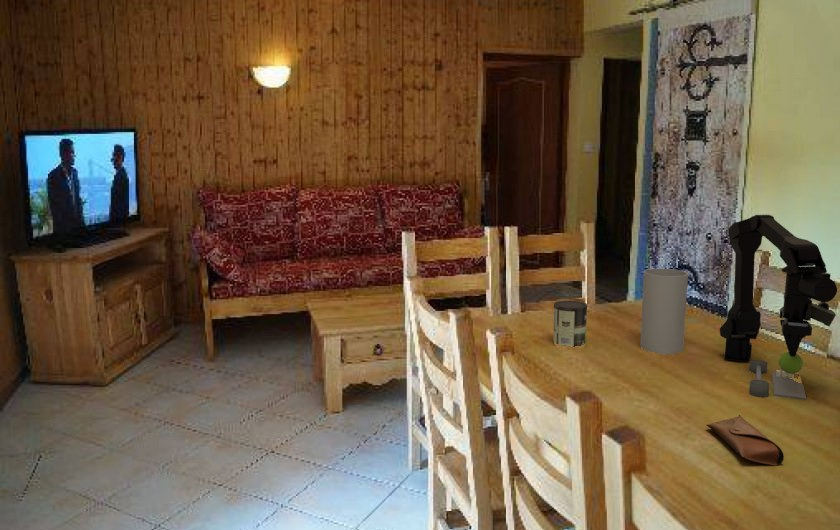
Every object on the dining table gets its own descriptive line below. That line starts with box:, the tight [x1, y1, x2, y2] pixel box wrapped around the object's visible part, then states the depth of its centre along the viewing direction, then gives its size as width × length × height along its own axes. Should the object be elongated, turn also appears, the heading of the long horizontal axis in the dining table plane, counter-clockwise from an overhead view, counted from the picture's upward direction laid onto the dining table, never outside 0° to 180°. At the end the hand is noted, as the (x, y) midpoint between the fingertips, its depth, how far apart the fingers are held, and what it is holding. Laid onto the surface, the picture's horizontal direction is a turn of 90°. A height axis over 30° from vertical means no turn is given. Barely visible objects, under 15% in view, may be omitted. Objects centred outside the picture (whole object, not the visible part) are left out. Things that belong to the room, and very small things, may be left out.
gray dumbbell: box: [748, 359, 770, 398], centre depth 184 cm, size 4×22×4 cm, turn 155°
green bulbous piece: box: [778, 351, 804, 375], centre depth 177 cm, size 5×6×12 cm
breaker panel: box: [771, 369, 807, 401], centre depth 181 cm, size 7×18×3 cm, turn 155°
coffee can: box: [552, 300, 588, 347], centre depth 219 cm, size 10×10×14 cm
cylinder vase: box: [639, 268, 689, 355], centre depth 212 cm, size 12×12×25 cm
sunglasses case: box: [706, 414, 785, 467], centre depth 148 cm, size 18×7×7 cm
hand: (791, 353), depth 177 cm, fingers closed on green bulbous piece, 5 cm apart
